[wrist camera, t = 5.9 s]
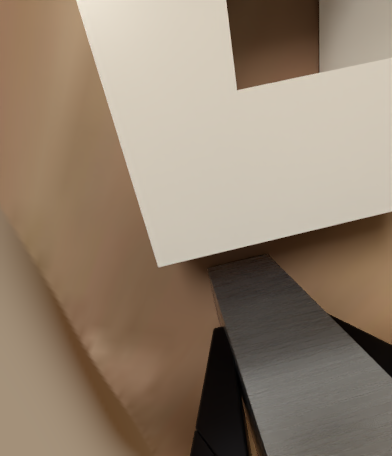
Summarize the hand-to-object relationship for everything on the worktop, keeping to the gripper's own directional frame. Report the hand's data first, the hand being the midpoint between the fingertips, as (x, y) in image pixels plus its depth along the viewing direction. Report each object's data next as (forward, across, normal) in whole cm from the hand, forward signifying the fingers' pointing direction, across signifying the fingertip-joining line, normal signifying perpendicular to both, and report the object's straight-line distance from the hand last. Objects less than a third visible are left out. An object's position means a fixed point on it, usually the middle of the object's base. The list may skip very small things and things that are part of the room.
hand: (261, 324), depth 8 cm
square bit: (+2, 0, 0) cm, 2 cm away
